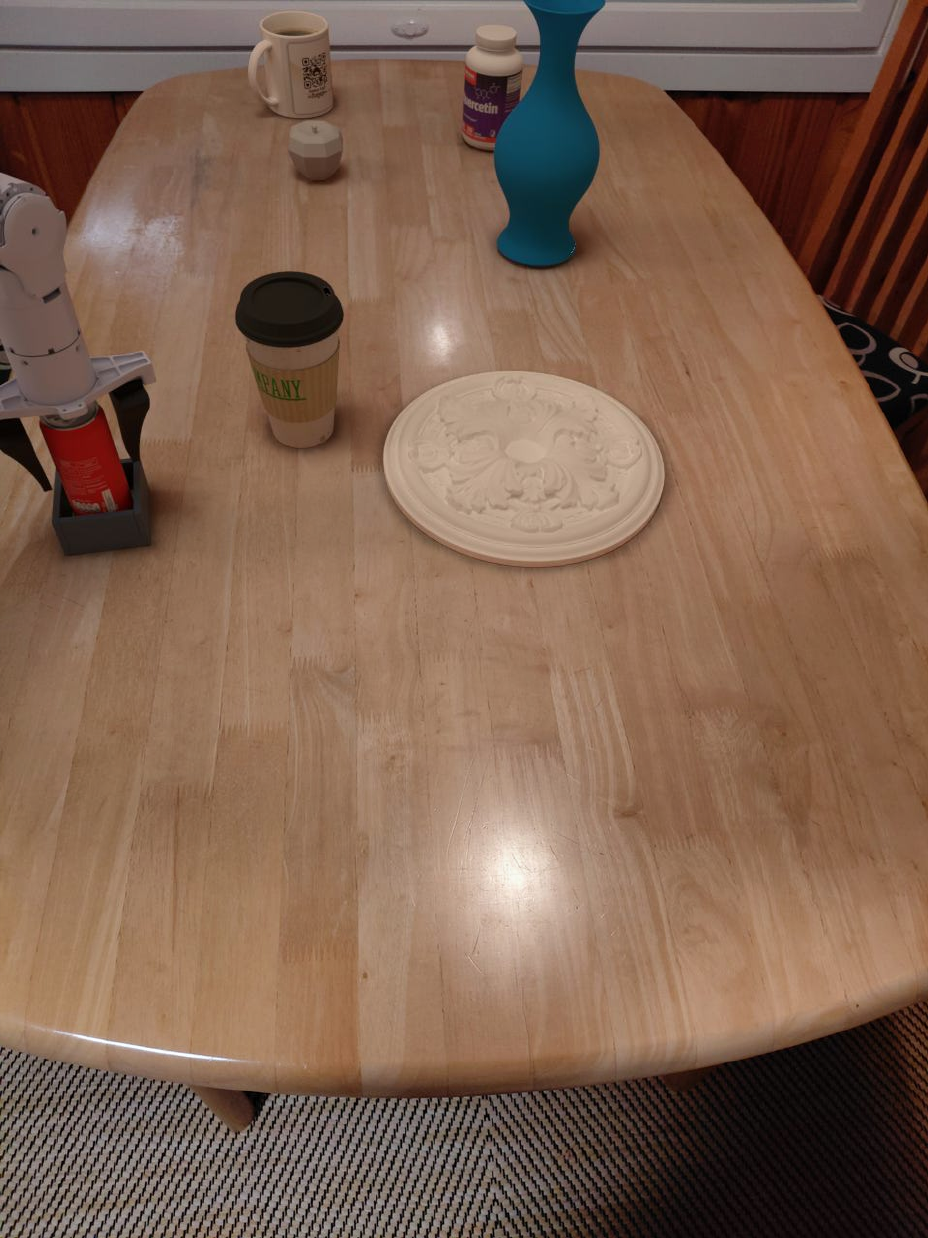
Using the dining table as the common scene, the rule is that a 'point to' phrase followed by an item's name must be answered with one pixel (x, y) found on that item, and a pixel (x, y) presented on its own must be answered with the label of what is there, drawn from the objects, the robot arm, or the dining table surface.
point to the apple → (315, 148)
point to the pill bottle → (490, 84)
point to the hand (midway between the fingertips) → (90, 469)
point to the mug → (294, 64)
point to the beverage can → (87, 461)
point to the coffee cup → (293, 352)
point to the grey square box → (104, 518)
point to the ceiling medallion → (523, 468)
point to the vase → (548, 142)
